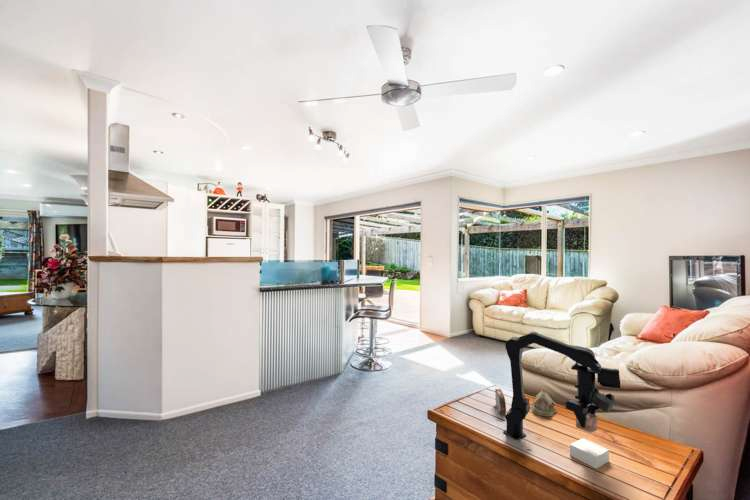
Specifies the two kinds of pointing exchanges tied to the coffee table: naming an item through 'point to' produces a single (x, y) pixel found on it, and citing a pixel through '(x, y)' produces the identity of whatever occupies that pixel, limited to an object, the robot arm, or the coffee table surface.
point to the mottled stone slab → (500, 401)
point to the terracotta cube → (588, 423)
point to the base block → (589, 453)
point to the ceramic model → (543, 405)
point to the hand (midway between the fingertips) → (586, 425)
